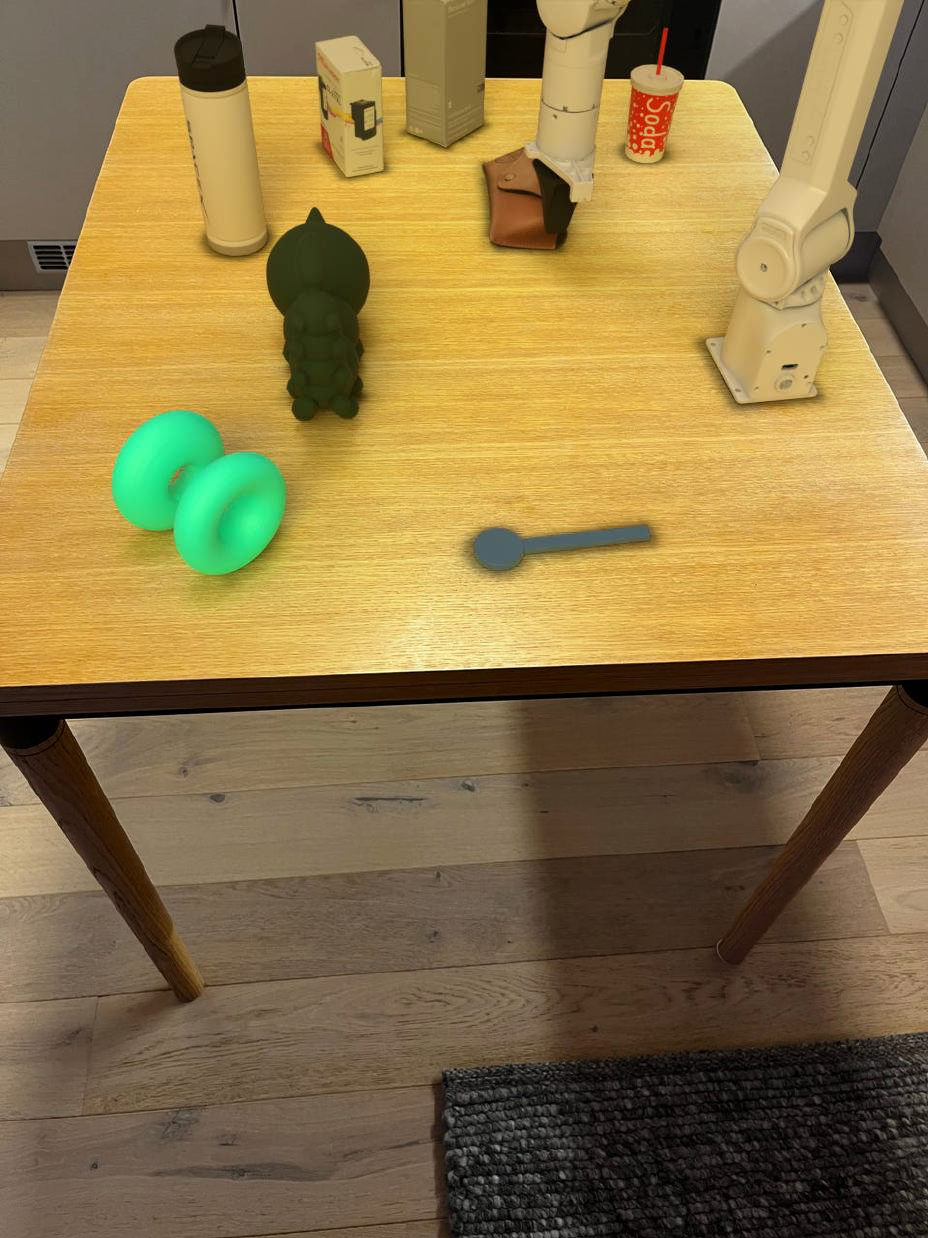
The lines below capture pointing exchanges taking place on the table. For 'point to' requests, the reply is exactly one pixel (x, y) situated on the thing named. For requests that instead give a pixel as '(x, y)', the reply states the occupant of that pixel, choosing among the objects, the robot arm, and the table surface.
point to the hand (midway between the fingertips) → (555, 231)
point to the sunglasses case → (517, 204)
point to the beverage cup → (651, 108)
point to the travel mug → (222, 139)
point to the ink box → (350, 105)
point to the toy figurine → (320, 314)
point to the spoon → (545, 544)
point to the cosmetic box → (444, 67)
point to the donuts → (199, 491)
